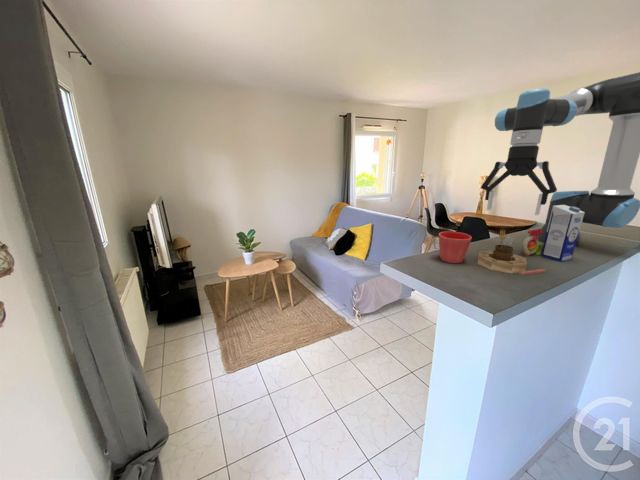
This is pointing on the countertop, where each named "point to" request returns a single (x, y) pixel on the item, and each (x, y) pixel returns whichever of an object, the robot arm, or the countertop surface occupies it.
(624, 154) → the robot arm
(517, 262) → the octagonal ring
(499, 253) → the utensil holder
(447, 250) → the flower pot
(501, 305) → the countertop surface
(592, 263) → the countertop surface
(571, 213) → the milk carton
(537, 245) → the bird rattle
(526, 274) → the pink stick
